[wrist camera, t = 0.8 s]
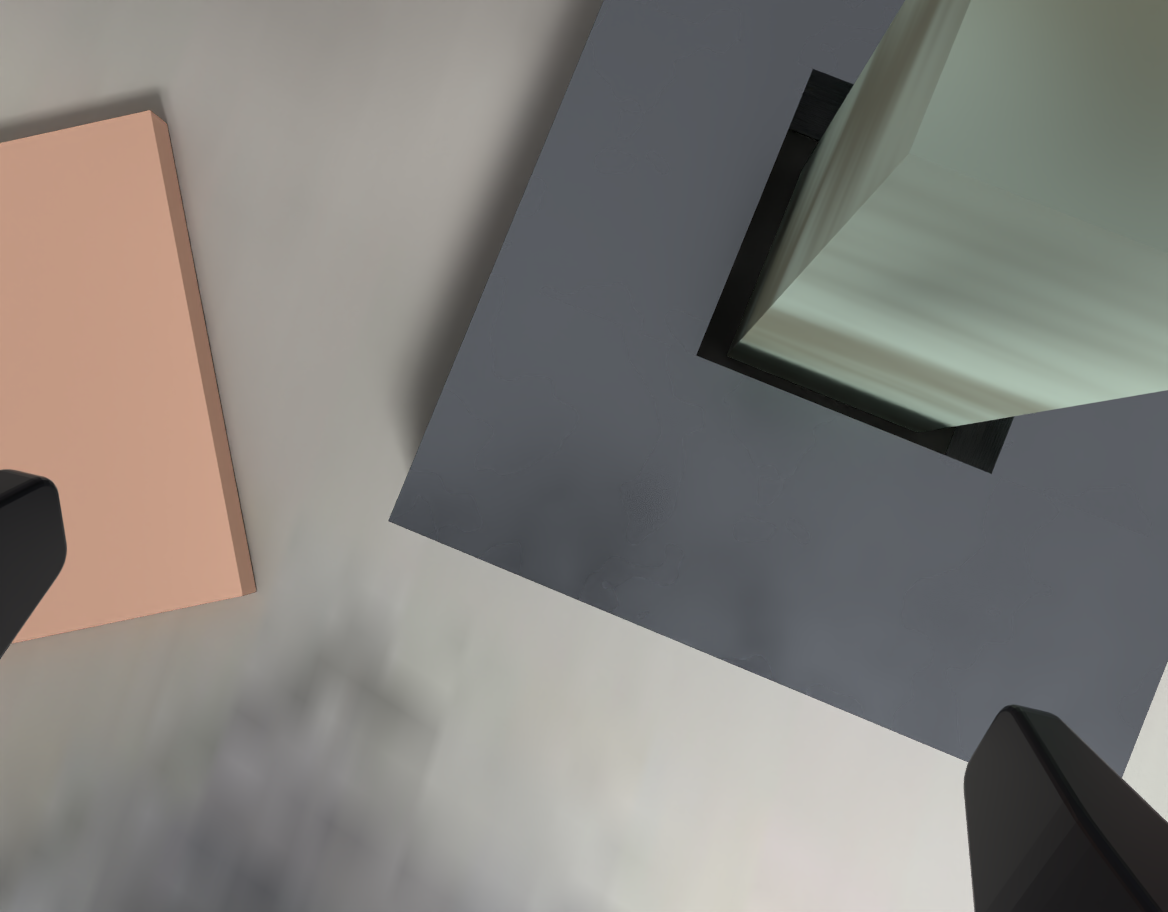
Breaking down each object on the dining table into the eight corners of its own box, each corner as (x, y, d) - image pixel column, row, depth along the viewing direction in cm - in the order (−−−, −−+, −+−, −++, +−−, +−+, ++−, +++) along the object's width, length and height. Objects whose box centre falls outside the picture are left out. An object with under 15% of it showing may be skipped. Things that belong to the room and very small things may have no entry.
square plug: (917, 432, 21) (1412, 348, 8) (726, 355, 21) (909, 153, 8) (993, 243, 21) (1603, -141, 8) (802, 169, 21) (1101, -322, 8)
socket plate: (1033, 771, 21) (1105, 819, 18) (419, 516, 21) (388, 520, 18) (1306, 80, 21) (1422, 13, 18) (694, -150, 22) (708, -252, 19)
